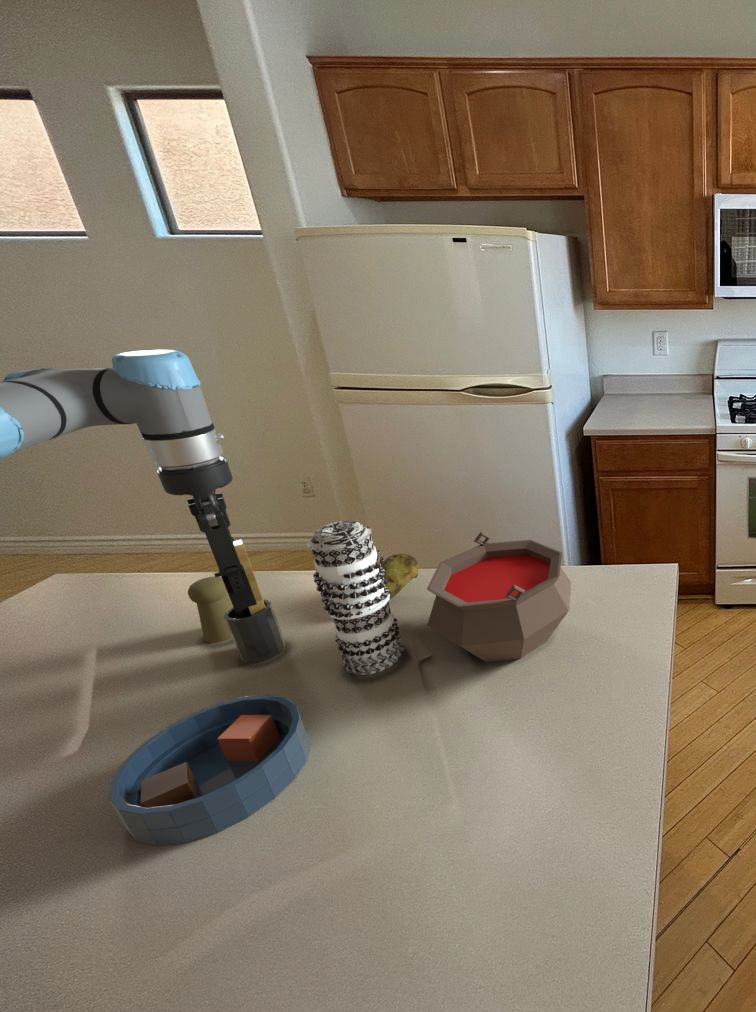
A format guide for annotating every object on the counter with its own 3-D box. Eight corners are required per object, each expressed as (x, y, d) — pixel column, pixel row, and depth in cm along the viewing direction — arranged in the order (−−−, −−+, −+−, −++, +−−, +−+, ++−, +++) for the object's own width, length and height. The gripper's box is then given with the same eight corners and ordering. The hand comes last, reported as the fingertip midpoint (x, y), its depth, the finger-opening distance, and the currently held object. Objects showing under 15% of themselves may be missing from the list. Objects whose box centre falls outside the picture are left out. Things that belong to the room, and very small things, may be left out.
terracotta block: (250, 737, 76) (241, 714, 74) (280, 737, 76) (271, 714, 74) (227, 761, 72) (216, 738, 70) (258, 761, 72) (248, 738, 70)
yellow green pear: (345, 604, 106) (334, 568, 103) (414, 578, 115) (406, 544, 112) (361, 622, 101) (350, 584, 98) (432, 592, 110) (424, 557, 107)
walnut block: (154, 804, 66) (140, 780, 65) (198, 784, 69) (186, 761, 67) (153, 827, 63) (140, 803, 62) (199, 806, 66) (187, 782, 64)
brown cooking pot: (599, 648, 95) (592, 566, 89) (449, 705, 82) (428, 614, 76) (553, 585, 113) (544, 513, 107) (424, 624, 101) (405, 545, 94)
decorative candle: (413, 640, 96) (380, 511, 86) (401, 676, 88) (364, 537, 78) (353, 650, 94) (313, 517, 84) (336, 687, 85) (289, 546, 76)
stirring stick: (263, 648, 93) (225, 543, 85) (278, 643, 94) (241, 539, 86) (265, 654, 91) (226, 548, 84) (280, 649, 93) (243, 543, 85)
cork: (204, 650, 93) (180, 595, 89) (204, 633, 97) (181, 579, 93) (250, 635, 97) (229, 582, 92) (248, 619, 101) (227, 567, 97)
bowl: (131, 779, 70) (111, 744, 68) (298, 708, 81) (286, 676, 79) (128, 884, 59) (105, 846, 56) (324, 784, 70) (311, 749, 68)
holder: (240, 654, 92) (222, 609, 89) (283, 638, 96) (268, 595, 93) (244, 671, 88) (225, 625, 85) (289, 654, 92) (273, 610, 89)
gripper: (231, 472, 75) (282, 614, 84) (219, 441, 88) (264, 567, 97) (156, 486, 70) (218, 635, 79) (154, 451, 83) (207, 583, 92)
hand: (243, 597), depth 88 cm, fingers open, 6 cm apart
